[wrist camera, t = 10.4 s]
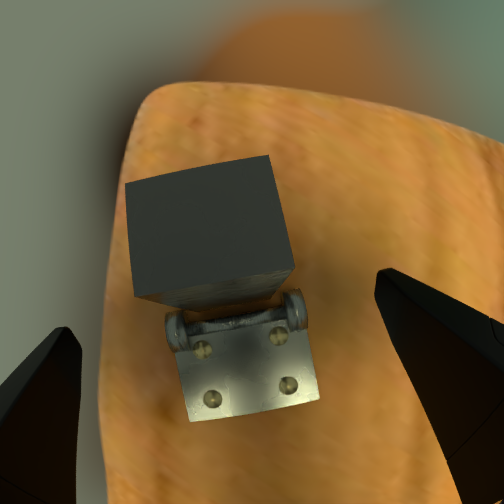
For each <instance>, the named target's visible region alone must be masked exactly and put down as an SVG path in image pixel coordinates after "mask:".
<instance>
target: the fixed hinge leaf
mask: <svg viewBox="0 0 504 504" xmlns="http://www.w3.org/2000/svg"><path fill="white" fill-rule="evenodd" d="M281 302H282V306H279V307H274V308H269V309H264V310H259V311H254V312H249V313H244V314H238V315H233V316H227V317H222V318H216V319H210V320H204V321H198V322H192V323H190V322H189V318H188V315H187V313H186V311H185V310H180V311H174V312H168V313H166V315H165V331H166V337H167V341H168V344H169V347H170V349H171V351H172V352H173V353H175V356H176V361H177V366H178V371H179V376H180V381H181V385H182V390H183V395H184V399H185V403H186V408H187V412H188V416H189V420H190V422H194V421H203V420H211V419H219V418H226V417H232V416H239V415H245V414H251V413H256V412H262V411H267V410H272V409H277V408H282V407H287V406H291V405H296V404H300V403H304V402H309V401H313V400H317V399H320V397H319V392H318V386H317V381H316V375H315V370H314V365H313V359H312V354H311V349H310V344H309V339H308V334H307V328H308V316H307V310H306V305H305V301H304V298H303V295H302V292H301V290H300V289H299V288H298V289H293V290H288V291H283V292H281Z"/></svg>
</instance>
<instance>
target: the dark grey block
mask: <svg viewBox="0 0 504 504" xmlns="http://www.w3.org/2000/svg"><path fill="white" fill-rule="evenodd" d="M125 195H126V214H127V228H128V241H129V252H130V262H131V271H132V280H133V288H134V296H135V297H137V298H141V299H145V300H149V301H153V302H157V303H161V304H165V305H169V306H173V307H178V308H182V309H186V310H191V311H195V312H201V311H207V310H213V309H218V308H224V307H229V306H235V305H240V304H245V303H251V302H256V301H261V300H266V299H270V298H271V297H272V296H273V295H274V293H275V292H276V291H277V290H278V288H279V287H280V286H281V285H282V283H283V282H284V281H285V280H286V278H287V277H288V276H289V275H290V273H291V272H292V271H293V270H294V268H295V265H294V260H293V255H292V251H291V247H290V242H289V238H288V233H287V229H286V225H285V220H284V216H283V212H282V208H281V203H280V199H279V195H278V191H277V187H276V183H275V178H274V174H273V170H272V166H271V162H270V158H269V155H264V156H258V157H252V158H245V159H239V160H234V161H228V162H222V163H217V164H212V165H206V166H201V167H196V168H191V169H187V170H182V171H177V172H172V173H168V174H163V175H159V176H155V177H150V178H146V179H142V180H138V181H134V182H130V183H126V184H125Z"/></svg>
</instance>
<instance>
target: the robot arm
mask: <svg viewBox="0 0 504 504" xmlns="http://www.w3.org/2000/svg"><path fill="white" fill-rule="evenodd" d="M374 296H375V301H376V303H377V306H378V308H379V311H380V313H381V316H382V318H383V321H384V323H385V326H386V329H387V331H388V334H389V337H390V339H391V341H392V344H393V346H394V348H395V350H396V352H397V354H398V356H399V358H400V360H401V362H402V364H403V366H404V368H405V370H406V372H407V374H408V376H409V378H410V380H411V382H412V384H413V387H414V389H415V391H416V393H417V395H418V397H419V399H420V401H421V404H422V406H423V408H424V410H425V412H426V415H427V417H428V419H429V421H430V424H431V426H432V428H433V430H434V433H435V435H436V437H437V440H438V442H439V444H440V447H441V449H442V452H443V454H444V457H445V459H446V460H447V464H448V467H449V470H450V472H451V475H452V477H453V480H454V482H455V485H456V488H457V491H458V493H459V496H460V499H461V502H462V504H494V503H496V502H498V501H500V500H502V499H504V324H502V323H500V322H498V321H496V320H495V319H493V318H489V316H487V315H485V314H483V313H481V312H479V311H477V310H476V309H474V308H472V307H470V306H468V305H466V304H464V303H462V302H460V301H458V300H456V299H454V298H452V297H450V296H448V295H446V294H444V293H442V292H440V291H438V290H436V289H434V288H432V287H430V286H428V285H426V284H424V283H422V282H420V281H418V280H416V279H414V278H412V277H410V276H408V275H406V274H404V273H401V272H399V271H397V270H395V269H393V268H387V269H382V270H379V271H378V273H377V277H376V285H375V292H374ZM81 371H82V348H81V345H80V343H79V342H78V340H77V339H76V337H75V336H74V334H73V333H72V331H71V330H70V328H68V327H58V328H55V329H54V330H53V331H52V332H51V333H50V334H49V335H48V336H47V337H46V338H45V339H44V340H43V341H42V342H41V343H40V344H39V345H38V346H37V347H36V348H35V349H34V350H33V351H32V352H31V353H30V354H29V355H28V357H27V358H26V359H25V360H24V361H23V362H22V363H21V364H20V365H19V366H18V367H17V368H16V369H15V370H14V371H13V372H12V373H11V374H10V376H9V377H8V378H7V379H6V380H5V381H4V382H3V383H2V384H1V385H0V504H76V457H77V455H76V454H77V436H78V422H79V411H80V400H81Z"/></svg>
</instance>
